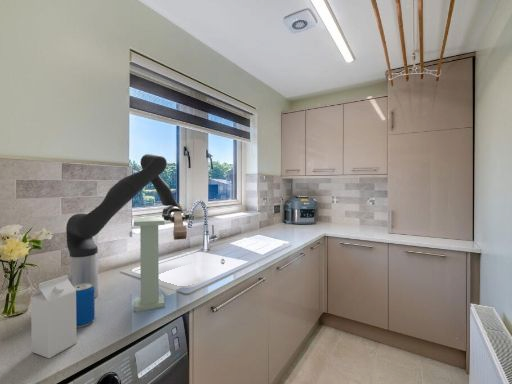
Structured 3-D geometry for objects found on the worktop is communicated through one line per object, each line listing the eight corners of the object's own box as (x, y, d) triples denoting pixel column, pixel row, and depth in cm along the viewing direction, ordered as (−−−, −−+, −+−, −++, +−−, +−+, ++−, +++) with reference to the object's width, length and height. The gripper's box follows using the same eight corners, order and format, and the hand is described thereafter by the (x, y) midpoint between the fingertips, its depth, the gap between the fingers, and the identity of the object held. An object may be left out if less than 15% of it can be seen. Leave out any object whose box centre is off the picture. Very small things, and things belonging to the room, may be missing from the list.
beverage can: (90, 315, 87) (90, 281, 87) (97, 322, 83) (97, 285, 83) (67, 323, 82) (67, 286, 82) (74, 331, 78) (73, 292, 78)
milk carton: (31, 352, 68) (30, 281, 67) (60, 337, 75) (59, 273, 74) (48, 359, 65) (47, 285, 65) (76, 343, 72) (76, 276, 72)
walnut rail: (186, 238, 110) (186, 231, 108) (174, 239, 108) (174, 232, 106) (182, 216, 122) (182, 209, 120) (171, 216, 120) (171, 210, 118)
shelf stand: (164, 308, 93) (164, 220, 92) (134, 313, 89) (133, 221, 88) (163, 297, 101) (163, 217, 101) (135, 302, 98) (135, 218, 97)
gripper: (160, 207, 128) (161, 211, 113) (189, 206, 134) (194, 209, 118) (160, 222, 129) (161, 227, 113) (189, 221, 134) (194, 226, 118)
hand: (178, 218), depth 115 cm, fingers closed on walnut rail, 3 cm apart
